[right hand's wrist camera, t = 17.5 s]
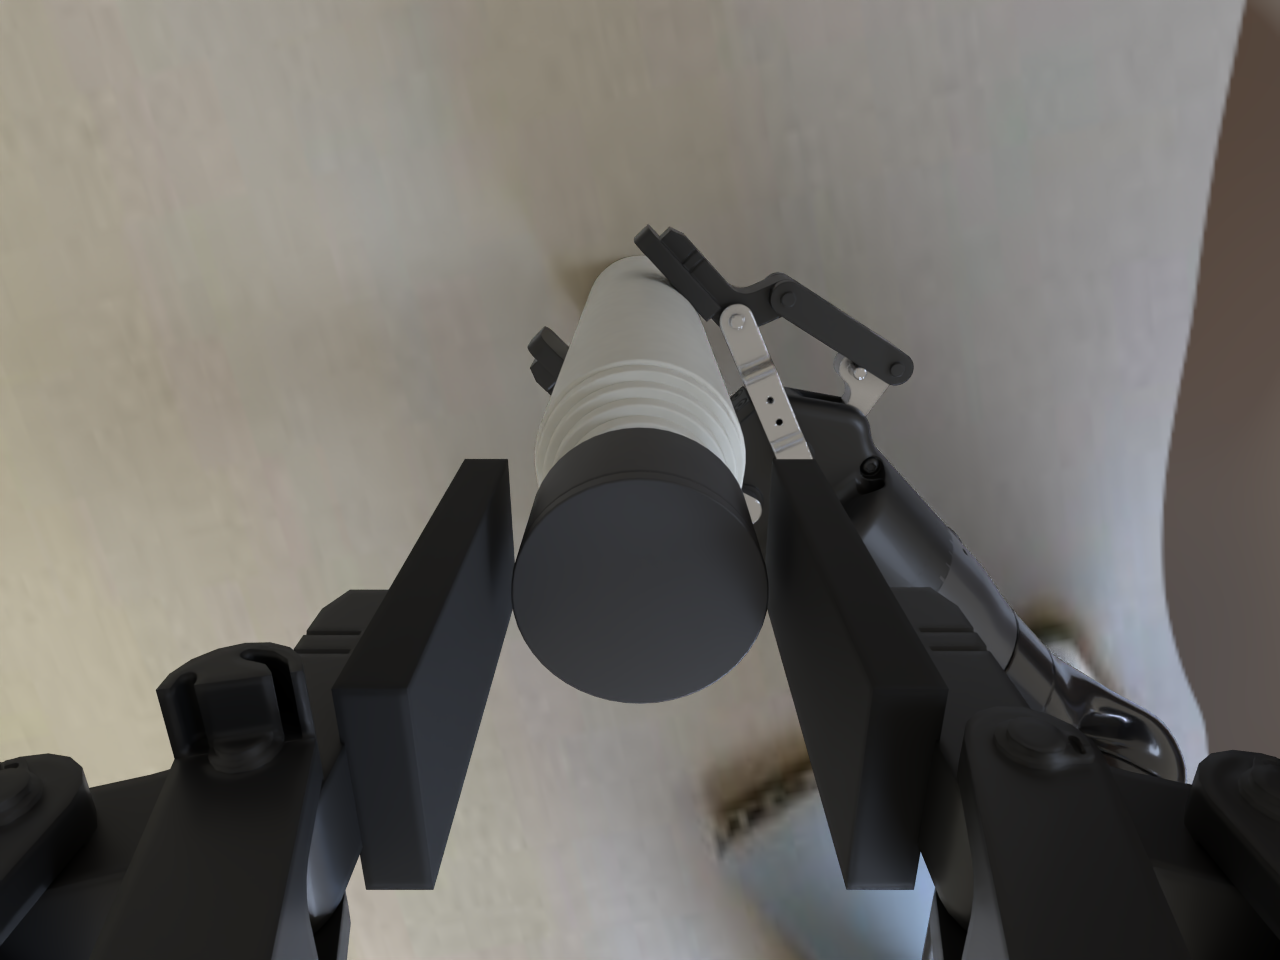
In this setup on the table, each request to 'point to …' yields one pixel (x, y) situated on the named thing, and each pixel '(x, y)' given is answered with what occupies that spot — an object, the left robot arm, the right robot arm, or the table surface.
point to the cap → (640, 568)
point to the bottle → (639, 371)
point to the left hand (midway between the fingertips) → (588, 288)
